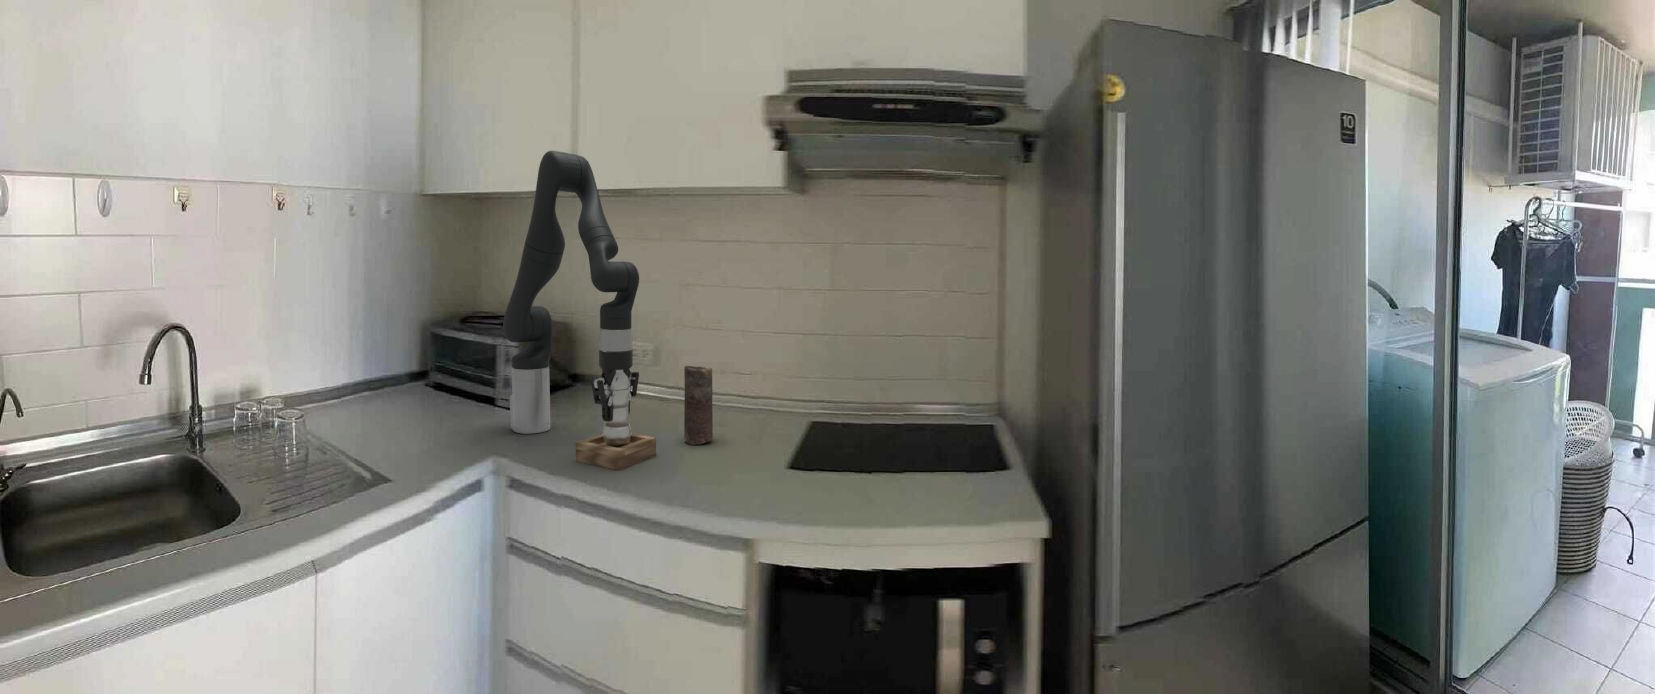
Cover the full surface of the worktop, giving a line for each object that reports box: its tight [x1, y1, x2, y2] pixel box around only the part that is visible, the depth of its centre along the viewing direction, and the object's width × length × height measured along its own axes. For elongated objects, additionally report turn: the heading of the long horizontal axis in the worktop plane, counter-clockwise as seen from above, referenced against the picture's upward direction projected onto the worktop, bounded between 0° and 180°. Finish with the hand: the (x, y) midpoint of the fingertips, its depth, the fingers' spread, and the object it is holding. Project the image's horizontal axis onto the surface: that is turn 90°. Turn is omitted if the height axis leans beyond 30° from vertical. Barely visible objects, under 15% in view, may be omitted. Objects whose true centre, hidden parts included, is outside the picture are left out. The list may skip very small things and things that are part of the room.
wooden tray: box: [575, 432, 657, 471], centre depth 166 cm, size 13×13×4 cm
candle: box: [683, 365, 714, 446], centre depth 182 cm, size 8×7×20 cm
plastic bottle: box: [601, 370, 632, 445], centre depth 165 cm, size 6×7×20 cm
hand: (616, 418), depth 165 cm, fingers closed on plastic bottle, 5 cm apart
